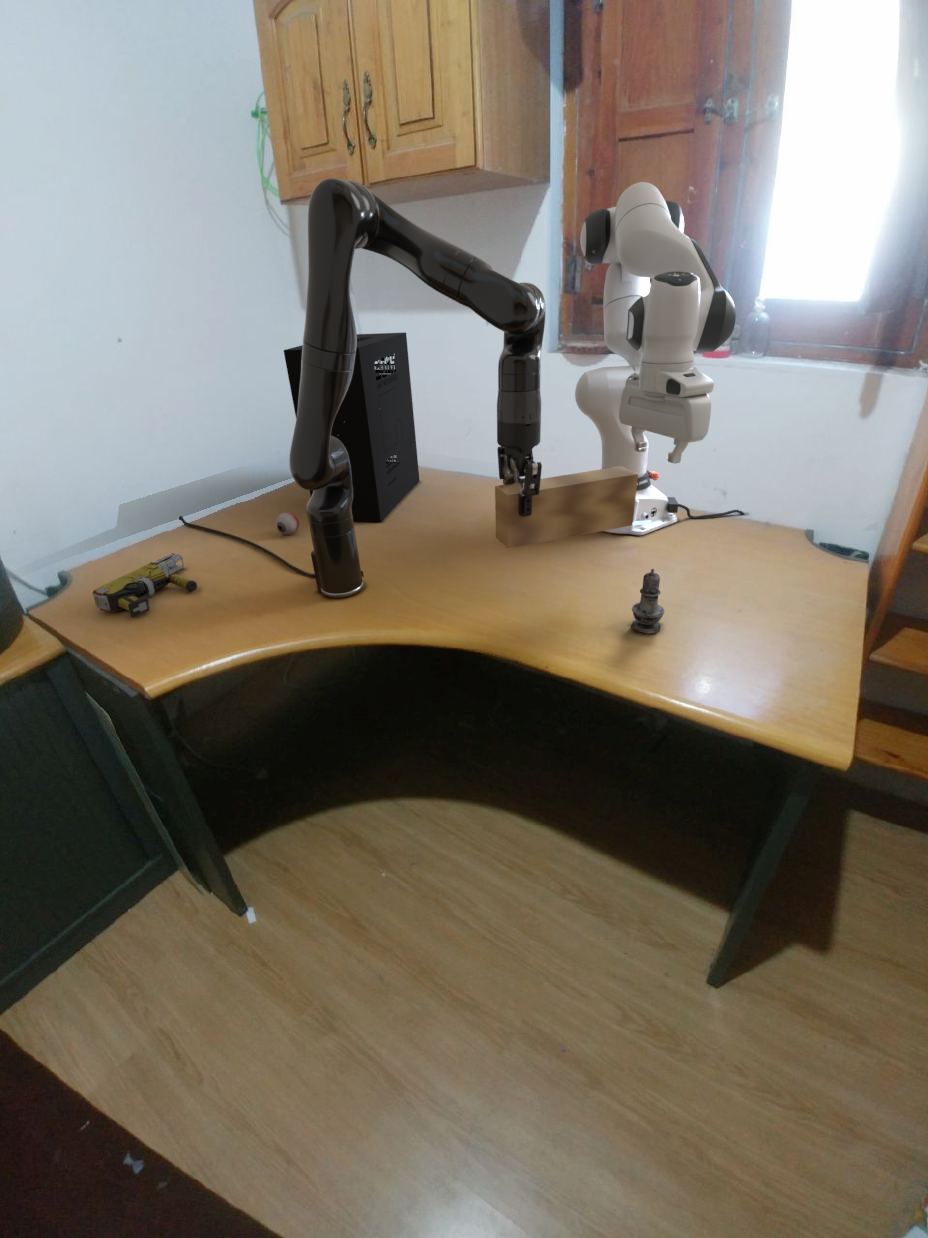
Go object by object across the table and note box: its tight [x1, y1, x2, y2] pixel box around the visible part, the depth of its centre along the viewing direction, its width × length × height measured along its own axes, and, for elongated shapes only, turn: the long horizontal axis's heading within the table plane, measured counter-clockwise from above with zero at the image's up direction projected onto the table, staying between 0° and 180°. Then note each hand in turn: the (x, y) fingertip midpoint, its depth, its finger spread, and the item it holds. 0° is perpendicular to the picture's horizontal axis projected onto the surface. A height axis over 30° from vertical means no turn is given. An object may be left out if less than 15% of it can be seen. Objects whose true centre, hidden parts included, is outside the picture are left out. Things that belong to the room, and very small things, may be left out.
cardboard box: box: [283, 332, 420, 523], centre depth 176 cm, size 38×20×45 cm, turn 167°
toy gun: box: [92, 552, 198, 618], centre depth 136 cm, size 5×24×15 cm
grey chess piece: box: [631, 568, 665, 634], centre depth 111 cm, size 6×6×12 cm
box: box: [494, 466, 638, 550], centre depth 115 cm, size 27×6×10 cm, turn 110°
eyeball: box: [275, 511, 300, 536], centre depth 163 cm, size 6×6×6 cm
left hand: (518, 509), depth 112 cm, fingers closed on box, 6 cm apart
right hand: (656, 456), depth 113 cm, fingers open, 8 cm apart
